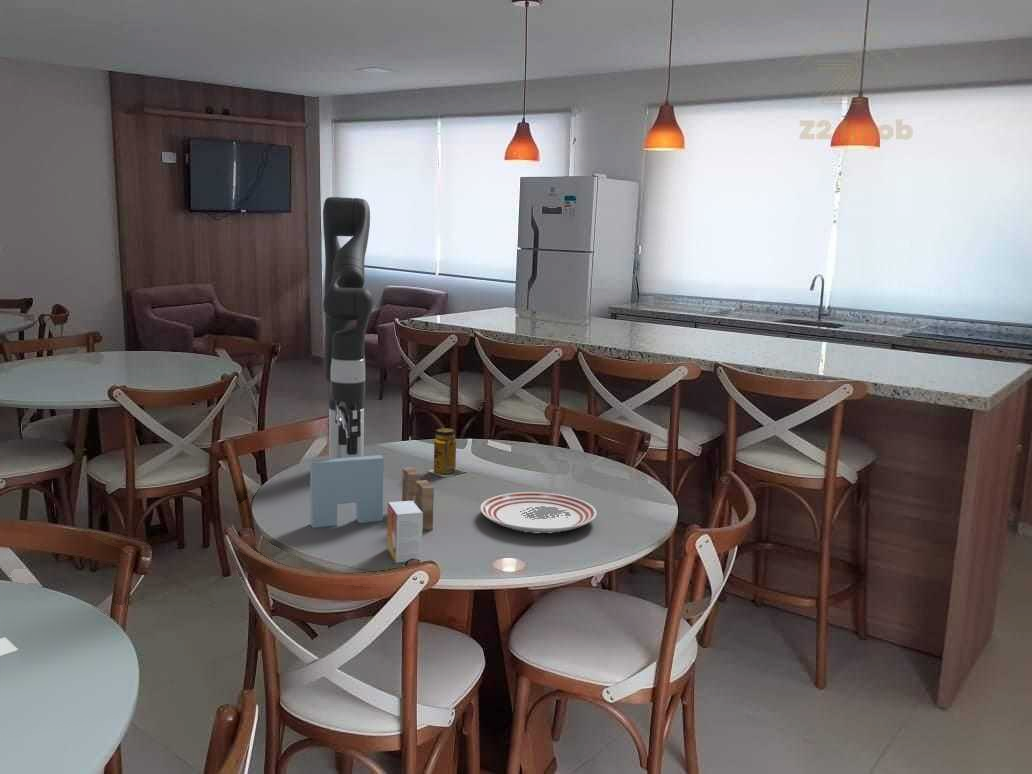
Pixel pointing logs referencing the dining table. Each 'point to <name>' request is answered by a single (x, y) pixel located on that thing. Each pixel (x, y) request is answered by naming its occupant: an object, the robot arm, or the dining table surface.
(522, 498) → the dinner plate
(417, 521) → the small box
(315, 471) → the light blue square panel
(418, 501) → the walnut block
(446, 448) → the condiment
